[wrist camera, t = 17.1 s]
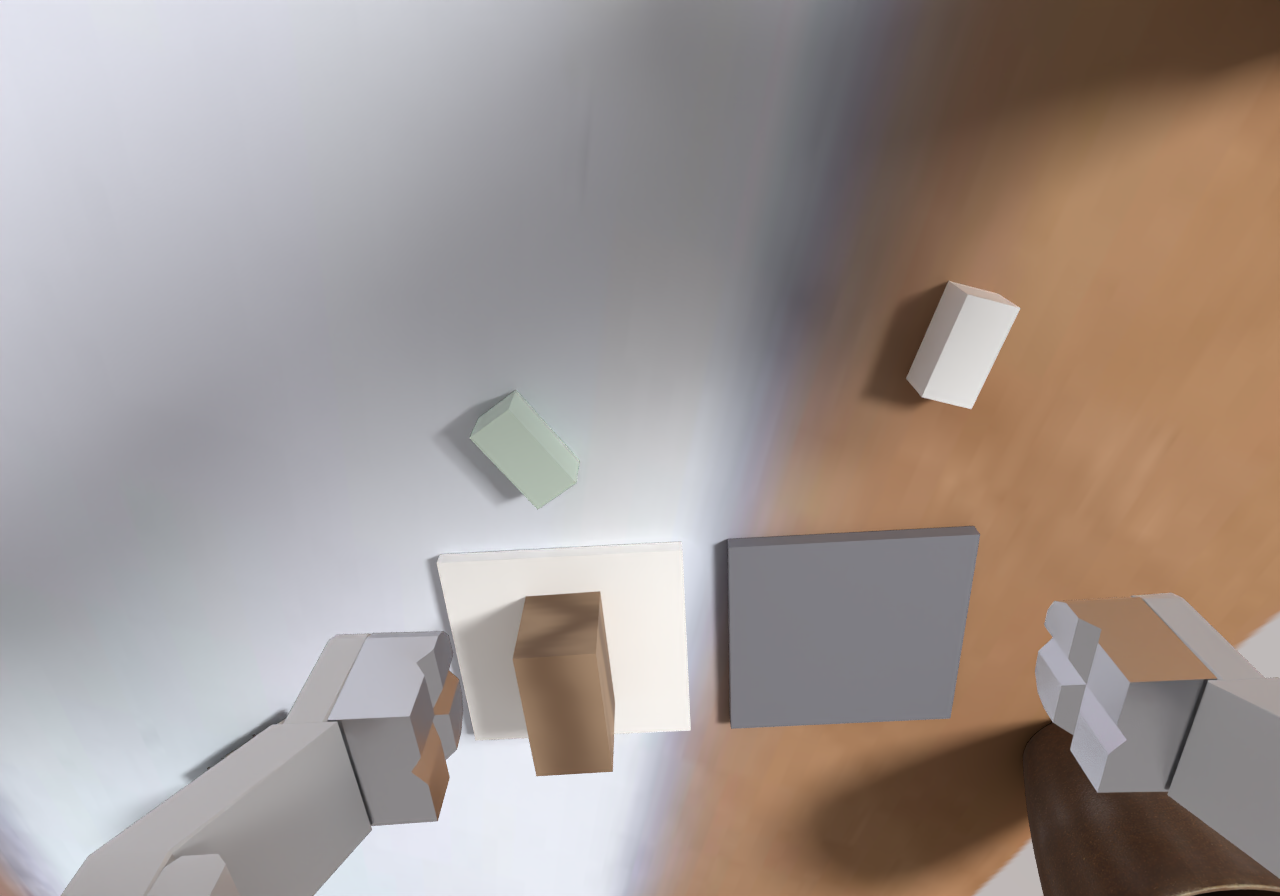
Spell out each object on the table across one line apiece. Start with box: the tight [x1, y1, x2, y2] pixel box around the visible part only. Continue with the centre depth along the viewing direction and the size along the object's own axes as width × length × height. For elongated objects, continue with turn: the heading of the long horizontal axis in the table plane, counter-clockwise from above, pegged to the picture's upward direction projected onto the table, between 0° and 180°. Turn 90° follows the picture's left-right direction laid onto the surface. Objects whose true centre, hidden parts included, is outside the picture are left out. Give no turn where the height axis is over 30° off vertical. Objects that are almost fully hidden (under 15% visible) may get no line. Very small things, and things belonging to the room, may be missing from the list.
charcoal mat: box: [727, 526, 980, 729], centre depth 53 cm, size 16×16×1 cm
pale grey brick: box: [906, 281, 1020, 409], centre depth 43 cm, size 6×3×3 cm, turn 166°
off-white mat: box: [437, 542, 691, 740], centre depth 54 cm, size 16×16×1 cm
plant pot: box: [1023, 723, 1280, 896], centre depth 52 cm, size 15×15×16 cm
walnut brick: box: [513, 591, 615, 776], centre depth 51 cm, size 5×10×6 cm, turn 5°
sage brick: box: [470, 390, 580, 509], centre depth 46 cm, size 6×3×3 cm, turn 37°
